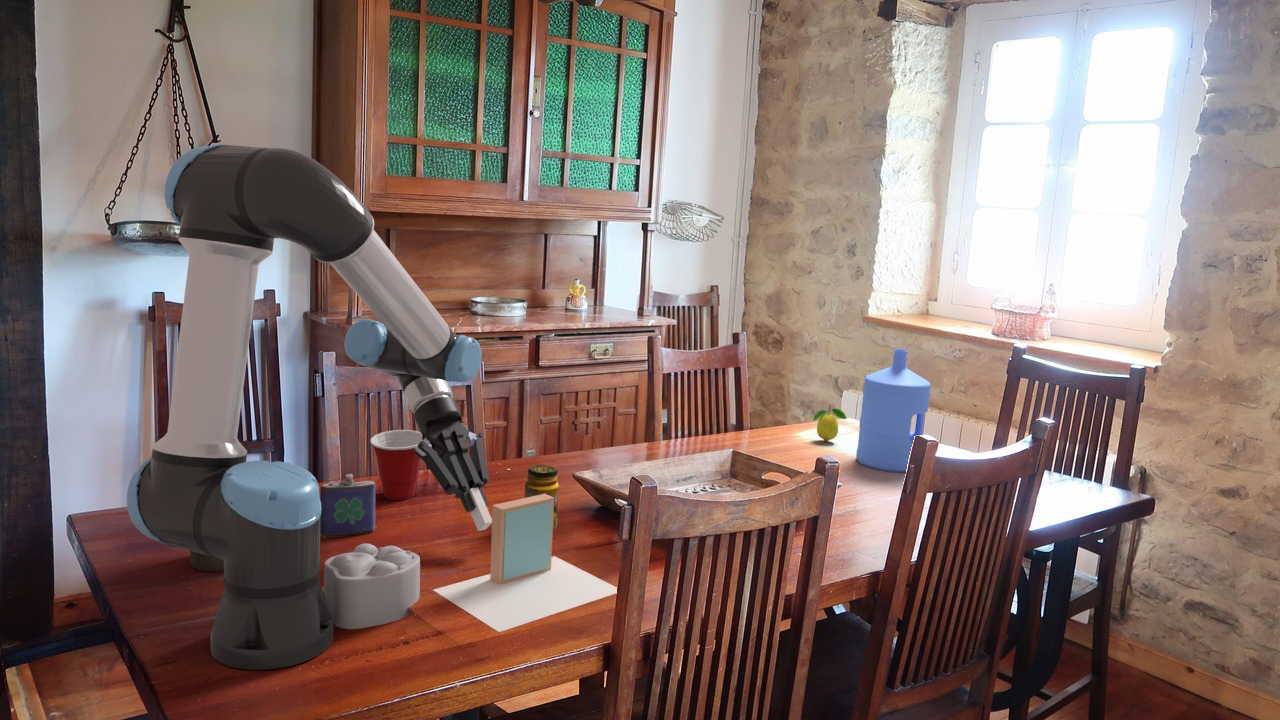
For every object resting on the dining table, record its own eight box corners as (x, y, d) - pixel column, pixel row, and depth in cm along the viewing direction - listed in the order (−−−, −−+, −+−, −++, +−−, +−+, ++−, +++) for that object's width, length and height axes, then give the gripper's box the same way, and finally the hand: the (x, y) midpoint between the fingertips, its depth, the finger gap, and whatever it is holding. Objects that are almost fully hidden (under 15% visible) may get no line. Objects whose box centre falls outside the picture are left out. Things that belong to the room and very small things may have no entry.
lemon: (844, 444, 247) (847, 406, 245) (827, 446, 243) (831, 408, 242) (826, 437, 252) (830, 401, 250) (809, 439, 249) (813, 402, 247)
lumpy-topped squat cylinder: (318, 604, 137) (318, 547, 135) (404, 587, 144) (405, 533, 143) (341, 633, 129) (342, 573, 127) (431, 613, 136) (433, 556, 135)
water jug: (862, 470, 223) (874, 353, 218) (850, 453, 238) (861, 343, 233) (929, 475, 222) (942, 358, 217) (912, 457, 238) (925, 347, 233)
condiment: (565, 536, 170) (568, 471, 168) (523, 543, 165) (525, 477, 163) (546, 523, 176) (549, 460, 173) (505, 529, 171) (507, 465, 169)
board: (498, 640, 129) (499, 632, 129) (432, 597, 141) (432, 589, 141) (622, 598, 145) (623, 590, 145) (553, 562, 157) (554, 556, 157)
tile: (500, 585, 144) (502, 509, 142) (490, 579, 146) (492, 505, 144) (551, 570, 151) (555, 498, 149) (541, 564, 153) (544, 493, 151)
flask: (373, 527, 168) (374, 469, 166) (376, 533, 165) (377, 474, 163) (319, 533, 164) (319, 473, 162) (321, 539, 161) (321, 479, 159)
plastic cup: (358, 499, 182) (358, 439, 180) (389, 484, 192) (390, 427, 190) (407, 508, 179) (408, 447, 177) (437, 492, 189) (438, 434, 187)
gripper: (457, 413, 170) (508, 529, 162) (391, 422, 162) (441, 545, 153) (474, 390, 166) (528, 508, 157) (408, 398, 157) (461, 523, 148)
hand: (485, 526), depth 155 cm, fingers closed
